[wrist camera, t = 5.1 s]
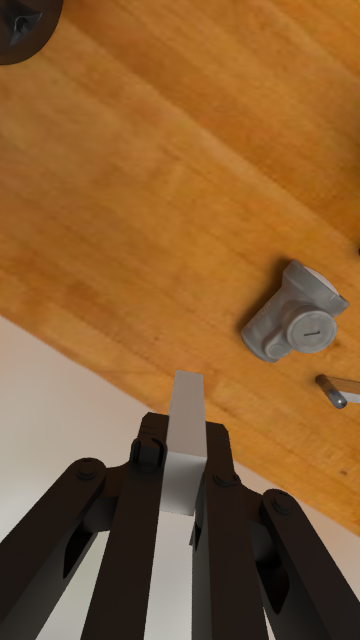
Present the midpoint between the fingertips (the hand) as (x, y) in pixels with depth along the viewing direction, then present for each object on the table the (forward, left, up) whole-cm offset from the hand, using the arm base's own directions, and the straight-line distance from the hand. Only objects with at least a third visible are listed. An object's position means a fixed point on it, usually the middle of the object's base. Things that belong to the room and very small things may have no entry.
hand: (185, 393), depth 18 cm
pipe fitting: (+12, 0, -25) cm, 28 cm away
